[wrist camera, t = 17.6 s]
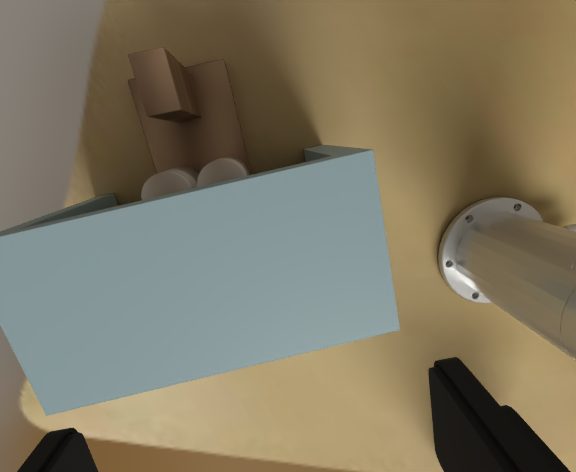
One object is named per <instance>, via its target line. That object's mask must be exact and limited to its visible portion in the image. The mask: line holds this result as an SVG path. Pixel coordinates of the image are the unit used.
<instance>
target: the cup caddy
mask: <svg viewBox="0 0 576 472" xmlns="http://www.w3.org/2000/svg"><path fill="white" fill-rule="evenodd" d="M128 56H129V59H130V63H131V66H132V69H133V72H134V76H135V79H130V80H128V83H129V86H130V89H131V93H132V96H133V99H134V102H135V105H136V108H137V112H138V115H139V118H140V121H141V124H142V128H143V131H144V134H145V137H146V140H147V143H148V147H149V150H150V153H151V156H152V159H153V162H154V166H155V169H156V172H157V174H155V175H153V176H152V177H150V178H149V179H148V180H147V181H146V182H145V184H144V186H143V188H142V192H141V199H142V200H146V199H150V198H154V197H158V196H163V195H167V194H171V193H176V192H180V191H184V190H188V189H193V188H197V187H201V186H206V185H210V184H214V183H218V182H223V181H227V180H231V179H236V178H240V177H244V176H249V175H252V174H251V170H250V165H249V161H248V157H247V153H246V149H245V145H244V140H243V136H242V132H241V128H240V124H239V120H238V115H237V111H236V107H235V103H234V99H233V95H232V90H231V86H230V82H229V78H228V74H227V70H226V65H225V62H224V59H222V60H218V61H213V62H208V63H204V64H199V65H194V66H190V67H184V66H183V65H182V64H180V63H179V62H178V61H177V60H176V59H175V58H174V57H173V56H172V55H171V54H170V53H169V52H168V51H167V50H166V49H165V48H164V47H162V48H157V49H152V50H148V51H143V52H138V53H134V54H129V55H128Z"/></svg>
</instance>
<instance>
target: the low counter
mask: <svg viewBox="0 0 576 472" xmlns="http://www.w3.org/2000/svg"><path fill="white" fill-rule="evenodd" d="M303 150H304V155H305V160H306V162H304V163H300V164H296V165H291V166H287V167H283V168H279V169H274V170H270V171H266V172H261V173H257V174H253V175H249V176H244V177H240V178H236V179H231V180H227V181H223V182H218V183H214V184H210V185H206V186H201V187H197V188H193V189H188V190H184V191H180V192H176V193H171V194H167V195H163V196H158V197H154V198H150V199H146V200H141V201H137V202H133V203H128V204H124V205H120V206H118V203H117V200H116V198H115V195H114V193H112V194H108V195H104V196H100V197H95V198H92V199H90V200H87V201H84V202H81V203H78V204H76V205H73V206H70V207H67V208H65V209H62V210H59V211H56V212H54V213H51V214H48V215H45V216H42V217H40V218H37V219H34V220H31V221H29V222H26V223H23V224H20V225H17V226H15V227H12V228H9V229H6V230H3V231H1V232H0V326H1V327H2V329H3V331H4V333H5V335H6V337H7V339H8V341H9V343H10V345H11V347H12V349H13V351H14V353H15V355H16V357H17V359H18V361H19V363H20V365H21V367H22V368H23V371H24V372H25V375H26V376H27V379H28V380H29V382H30V384H31V386H32V388H33V390H34V392H35V394H36V396H37V398H38V400H39V402H40V404H41V406H42V408H43V410H44V412H45V414H46V416H47V415H51V414H56V413H60V412H64V411H68V410H72V409H76V408H80V407H84V406H89V405H93V404H97V403H101V402H105V401H109V400H113V399H117V398H122V397H126V396H130V395H134V394H138V393H142V392H146V391H150V390H155V389H159V388H163V387H167V386H171V385H175V384H179V383H183V382H187V381H192V380H196V379H200V378H204V377H208V376H212V375H216V374H220V373H225V372H229V371H233V370H237V369H241V368H245V367H249V366H253V365H258V364H262V363H266V362H270V361H274V360H278V359H282V358H286V357H291V356H295V355H299V354H303V353H307V352H311V351H315V350H319V349H324V348H328V347H332V346H336V345H340V344H344V343H348V342H352V341H357V340H361V339H365V338H369V337H373V336H377V335H381V334H385V333H389V332H394V331H398V330H400V327H399V320H398V313H397V307H396V300H395V293H394V287H393V280H392V273H391V267H390V260H389V253H388V247H387V240H386V233H385V227H384V220H383V213H382V207H381V200H380V193H379V187H378V180H377V173H376V167H375V160H374V153H373V150H370V149H360V148H350V147H340V146H330V145H319V146H315V147H310V148H306V149H303Z"/></svg>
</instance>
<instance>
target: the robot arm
mask: <svg viewBox="0 0 576 472" xmlns="http://www.w3.org/2000/svg"><path fill="white" fill-rule="evenodd" d="M438 261H439V268H440V272H441V275H442V277H443V279H444V281H445V282H446V284H447V285H448V286H449V287H450V288H451V289H452V290H453V291H454V292H455V293H457V294H458V295H459V296H461V297H463V298H465V299H467V300H469V301H472V302H478V303H494V304H496V305H497V306H499V307H500V308H501V309H503V310H504V311H506V312H507V313H509V314H510V315H511V316H513V317H514V318H516V319H517V320H519V321H520V322H521V323H523V324H524V325H526V326H527V327H529V328H530V329H531V330H533V331H534V332H536V333H537V334H539V335H540V336H541V337H543V338H544V339H546V340H547V341H549V342H550V343H551V344H553V345H554V346H556V347H557V348H559V349H560V350H561V351H563V352H564V353H566V354H567V355H569V356H570V357H571V358H573V359H574V360H576V224H573V225H568V226H564V227H559V226H555V225H552V224H549V223H545V222H544V220H543V218H542V217H541V216H540V214H539V213H538V211H536V210H535V209H534V208H533V207H532V206H531V205H529V204H527V203H525V202H523V201H521V200H517V199H513V198H508V197H491V198H487V199H483V200H480V201H478V202H476V203H473V204H472V205H470V206H468V207H467V208H465V209H464V210H463V211H461V212H460V213H459V214H458V215H457V216H456V217H455V218H454V219H453V221H452V222H451V223H450V224H449V226H448V227H447V229H446V231H445V233H444V235H443V237H442V240H441V243H440V247H439V254H438ZM429 384H430V396H431V408H432V420H433V432H434V444H435V451H436V455H437V458H438V460H439V463H440V465H441V467H442V469H443V471H444V472H570V471H569V470H568V468H567V467H566V466H565V465H564V464H563V463H562V462H561V461H560V460H559V459H558V457H557V456H556V455H555V454H554V453H553V452H552V451H551V450H550V449H549V447H548V446H547V445H546V444H545V443H544V442H543V441H542V440H541V439H540V438H539V436H538V435H537V434H536V433H535V432H534V431H533V430H532V429H531V428H530V426H529V425H528V424H527V423H526V422H525V421H524V420H523V419H522V418H521V417H520V415H519V414H518V413H517V412H516V411H515V410H514V409H513V408H511V407H509V406H507V405H505V406H500V405H499V404H498V403H497V402H496V401H495V399H494V398H493V397H492V396H491V395H490V394H489V392H488V391H487V390H486V389H485V388H484V387H483V386H482V384H481V383H480V382H479V381H478V380H477V379H476V377H475V376H474V375H473V374H472V373H471V372H470V370H469V369H468V368H467V367H466V366H465V365H464V364H463V362H462V361H461V360H460V359H459V358H457V357H454V358H448V359H443V360H438V361H435V363H434V367H432V368H429ZM17 472H98V470H97V467H96V465H95V463H94V460H93V458H92V455H91V453H90V450H89V449H88V446H87V443H86V441H85V438H84V436H83V434H82V433H78V432H77V430H76V429H74V428H68V429H62V430H57V431H52V432H49V433H47V434H46V435H45V436H44V437H43V439H42V440H41V441H40V443H39V444H38V445H37V446H36V448H35V449H34V450H33V452H32V453H31V454H30V456H29V457H28V458H27V459H26V461H25V462H24V464H23V465H22V466H21V467H20V469H19V470H18V471H17Z"/></svg>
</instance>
